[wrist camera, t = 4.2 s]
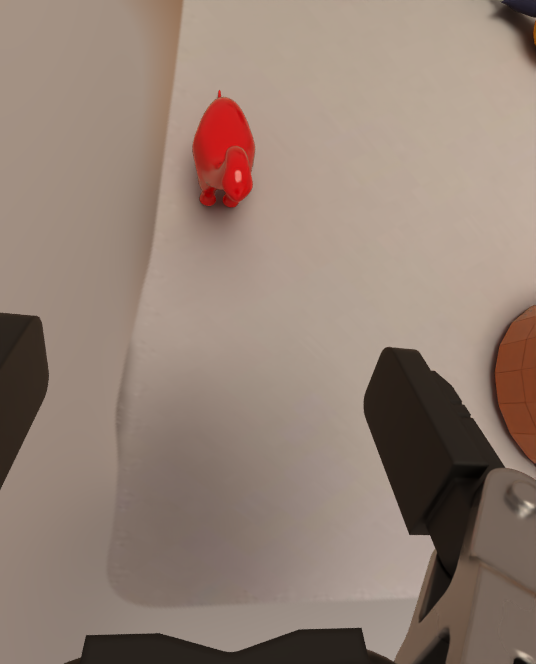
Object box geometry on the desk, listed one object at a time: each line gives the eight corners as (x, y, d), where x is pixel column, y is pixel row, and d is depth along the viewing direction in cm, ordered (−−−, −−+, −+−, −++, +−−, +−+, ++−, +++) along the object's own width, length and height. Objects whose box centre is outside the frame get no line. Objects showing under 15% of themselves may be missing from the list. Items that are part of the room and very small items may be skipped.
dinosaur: (244, 95, 33) (276, -84, 21) (246, 282, 31) (284, 196, 19) (193, 89, 33) (196, -99, 21) (190, 280, 30) (191, 189, 18)
